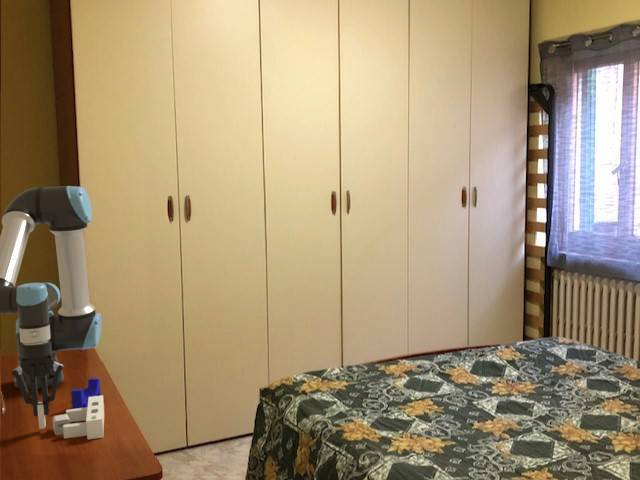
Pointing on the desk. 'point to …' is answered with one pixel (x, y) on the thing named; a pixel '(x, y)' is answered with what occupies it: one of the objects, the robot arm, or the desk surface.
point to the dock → (93, 420)
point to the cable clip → (85, 393)
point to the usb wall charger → (60, 423)
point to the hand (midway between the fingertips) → (42, 426)
